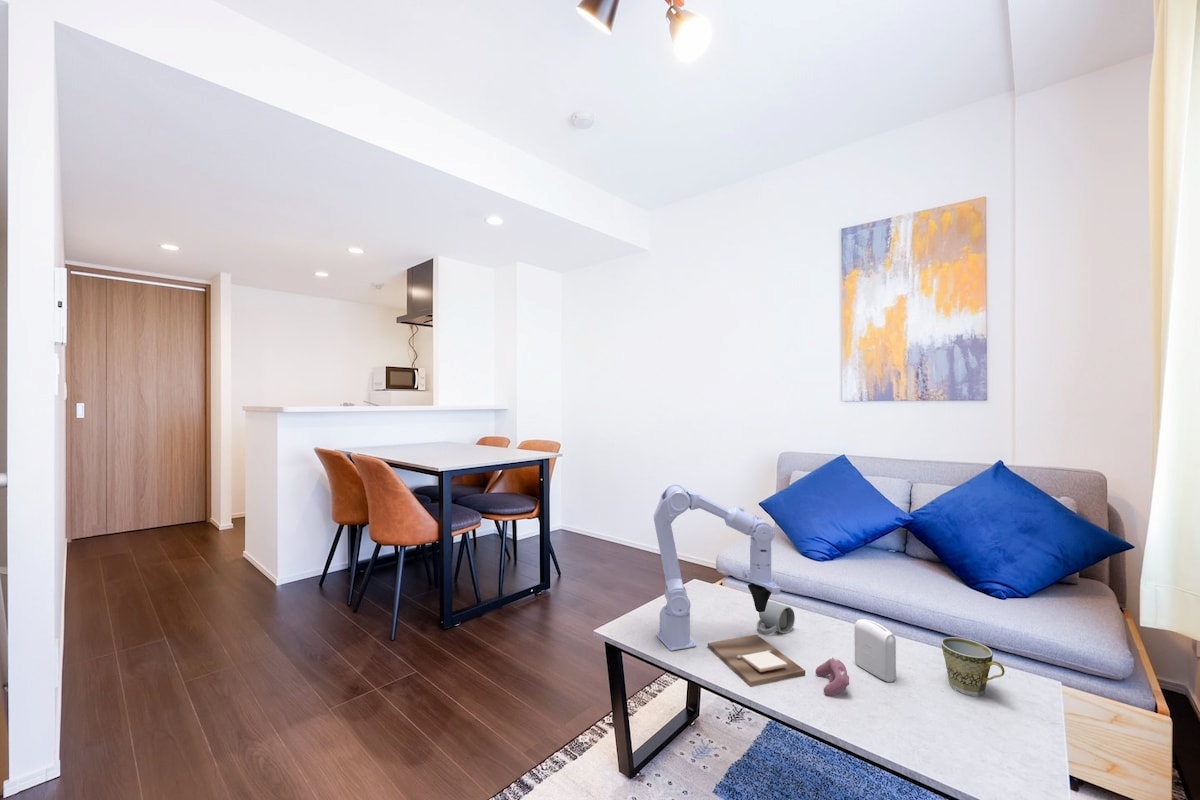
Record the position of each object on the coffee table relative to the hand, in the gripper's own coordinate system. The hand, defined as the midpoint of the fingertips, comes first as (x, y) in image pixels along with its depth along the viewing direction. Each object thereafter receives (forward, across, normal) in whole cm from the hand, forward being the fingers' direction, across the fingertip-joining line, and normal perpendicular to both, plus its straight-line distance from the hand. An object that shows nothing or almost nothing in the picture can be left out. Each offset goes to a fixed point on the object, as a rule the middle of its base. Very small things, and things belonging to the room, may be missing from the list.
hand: (760, 610), depth 142 cm
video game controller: (+10, -23, -4) cm, 25 cm away
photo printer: (+10, -21, -19) cm, 30 cm away
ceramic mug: (+10, +6, -9) cm, 15 cm away
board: (+9, -7, +7) cm, 14 cm away
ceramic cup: (+10, -35, -34) cm, 50 cm away
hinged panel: (+7, -11, +7) cm, 15 cm away
